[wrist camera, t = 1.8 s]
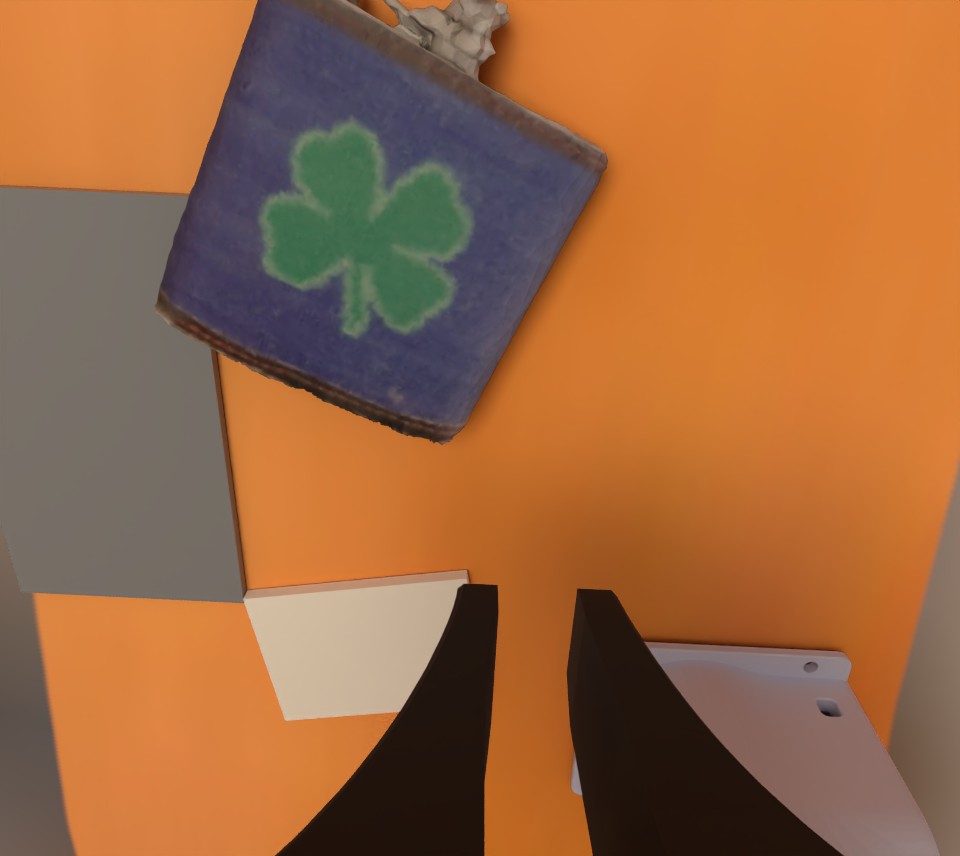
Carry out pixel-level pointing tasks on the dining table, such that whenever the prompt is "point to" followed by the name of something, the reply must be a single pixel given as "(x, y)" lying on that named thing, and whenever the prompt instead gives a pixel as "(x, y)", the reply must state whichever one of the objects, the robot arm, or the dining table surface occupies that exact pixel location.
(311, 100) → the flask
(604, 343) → the dining table surface
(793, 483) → the dining table surface
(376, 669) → the napkin
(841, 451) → the dining table surface
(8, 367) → the board
